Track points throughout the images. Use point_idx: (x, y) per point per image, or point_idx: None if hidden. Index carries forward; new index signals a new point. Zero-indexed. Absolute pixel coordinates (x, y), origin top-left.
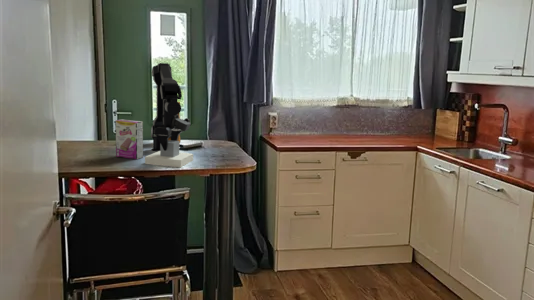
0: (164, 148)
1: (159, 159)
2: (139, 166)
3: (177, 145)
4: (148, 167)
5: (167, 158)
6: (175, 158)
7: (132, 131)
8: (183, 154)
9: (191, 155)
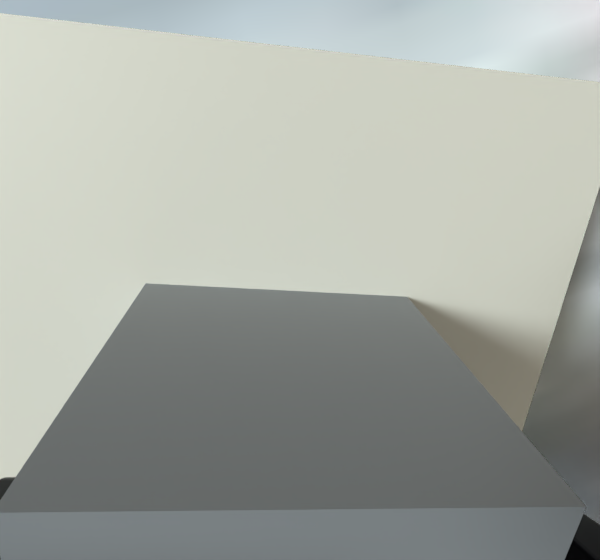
0: None
1: None
2: None
3: (222, 405)
4: (583, 444)
5: (520, 349)
6: (503, 231)
7: None
8: (97, 208)
9: (42, 21)
